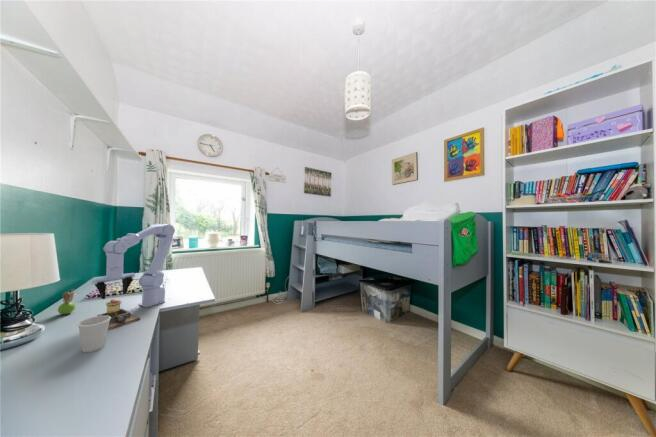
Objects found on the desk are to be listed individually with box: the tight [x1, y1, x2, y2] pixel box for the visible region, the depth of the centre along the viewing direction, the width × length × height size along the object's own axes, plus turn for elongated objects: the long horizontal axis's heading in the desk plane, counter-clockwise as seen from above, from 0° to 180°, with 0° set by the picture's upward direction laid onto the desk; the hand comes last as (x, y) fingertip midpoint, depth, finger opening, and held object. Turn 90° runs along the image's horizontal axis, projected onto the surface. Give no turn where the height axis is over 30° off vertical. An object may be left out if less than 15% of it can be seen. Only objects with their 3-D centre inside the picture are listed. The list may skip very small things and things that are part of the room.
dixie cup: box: [77, 315, 111, 353], centre depth 81 cm, size 8×8×10 cm
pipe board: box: [96, 307, 141, 330], centre depth 102 cm, size 12×16×3 cm
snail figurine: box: [57, 288, 76, 315], centre depth 107 cm, size 5×6×12 cm
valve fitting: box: [105, 298, 123, 317], centre depth 102 cm, size 5×5×8 cm
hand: (114, 296), depth 104 cm, fingers open, 7 cm apart
